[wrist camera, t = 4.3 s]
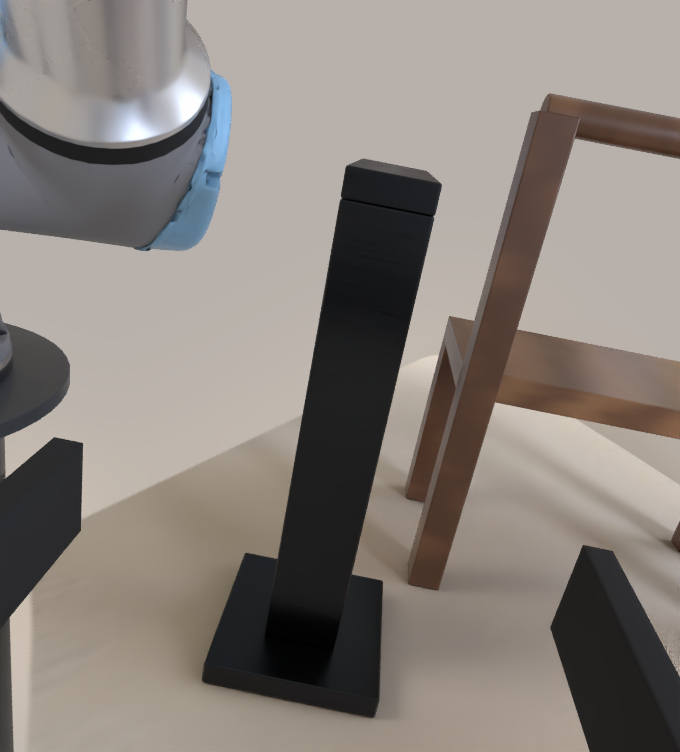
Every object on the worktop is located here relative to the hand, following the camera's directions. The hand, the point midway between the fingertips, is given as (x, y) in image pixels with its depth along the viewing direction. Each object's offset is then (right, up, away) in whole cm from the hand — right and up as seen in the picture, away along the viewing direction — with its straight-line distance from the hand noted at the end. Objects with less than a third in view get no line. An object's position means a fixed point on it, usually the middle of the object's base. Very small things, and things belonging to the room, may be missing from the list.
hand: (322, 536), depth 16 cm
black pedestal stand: (-1, -7, +13) cm, 15 cm away
